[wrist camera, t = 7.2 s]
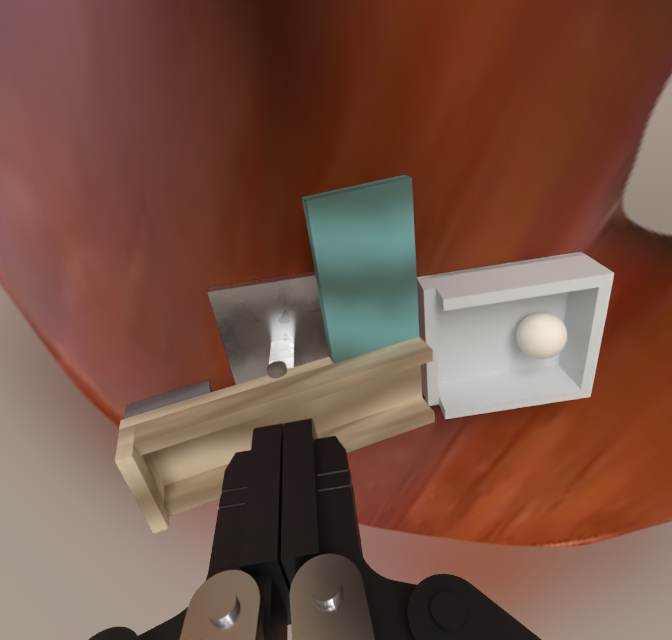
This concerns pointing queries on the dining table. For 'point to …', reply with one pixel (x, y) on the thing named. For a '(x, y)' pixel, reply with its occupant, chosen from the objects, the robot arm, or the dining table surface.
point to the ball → (541, 335)
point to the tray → (510, 333)
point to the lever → (308, 379)
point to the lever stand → (269, 323)
